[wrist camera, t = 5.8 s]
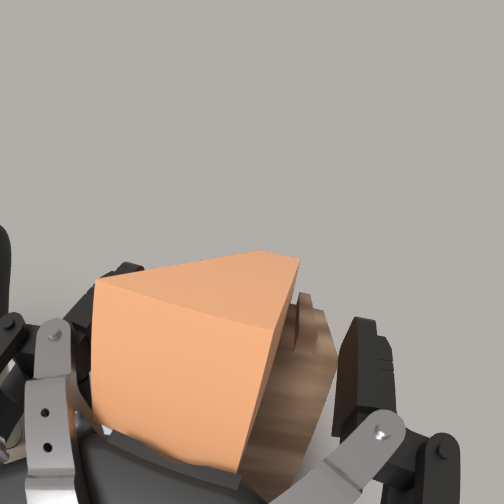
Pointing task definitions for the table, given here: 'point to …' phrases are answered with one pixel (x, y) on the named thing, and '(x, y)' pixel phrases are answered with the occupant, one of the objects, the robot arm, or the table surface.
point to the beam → (189, 352)
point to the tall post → (289, 401)
